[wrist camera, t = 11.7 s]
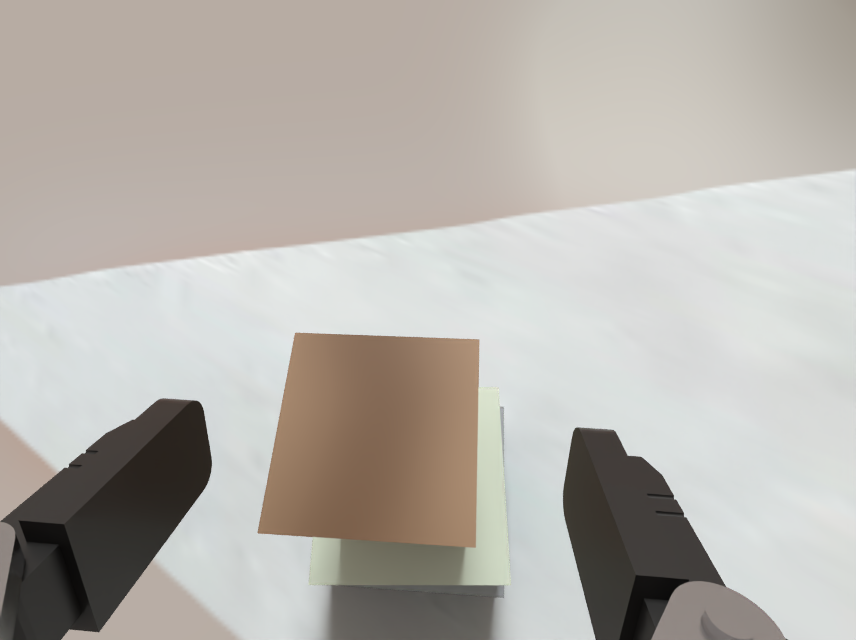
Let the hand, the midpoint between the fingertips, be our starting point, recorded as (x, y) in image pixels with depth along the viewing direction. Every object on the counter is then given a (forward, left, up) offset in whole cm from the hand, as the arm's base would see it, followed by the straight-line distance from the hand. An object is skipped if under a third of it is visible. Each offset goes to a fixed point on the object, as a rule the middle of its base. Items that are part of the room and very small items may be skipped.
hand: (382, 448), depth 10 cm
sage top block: (0, 0, -12) cm, 12 cm away
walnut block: (0, 0, -8) cm, 8 cm away
